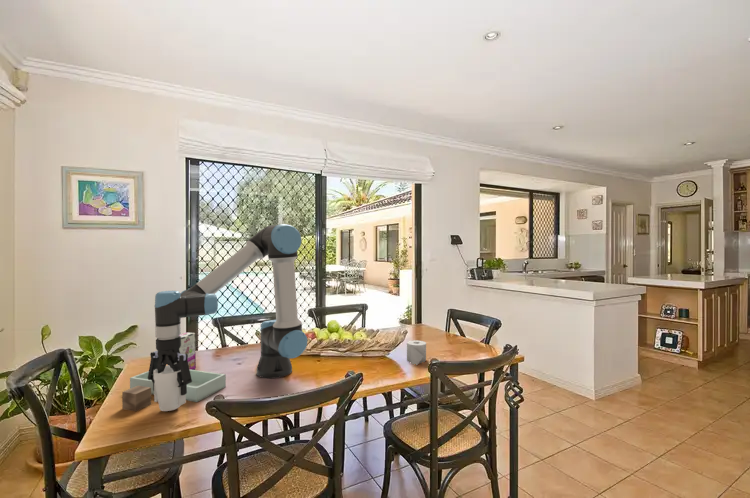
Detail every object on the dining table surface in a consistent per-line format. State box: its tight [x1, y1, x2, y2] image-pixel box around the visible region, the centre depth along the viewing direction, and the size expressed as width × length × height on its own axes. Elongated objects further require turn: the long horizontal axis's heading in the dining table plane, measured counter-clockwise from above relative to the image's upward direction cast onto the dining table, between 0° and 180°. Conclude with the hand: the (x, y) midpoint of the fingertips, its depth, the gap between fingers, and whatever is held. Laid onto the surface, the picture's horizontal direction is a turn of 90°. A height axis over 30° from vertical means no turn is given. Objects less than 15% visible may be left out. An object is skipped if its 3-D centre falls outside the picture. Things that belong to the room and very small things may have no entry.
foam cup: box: [153, 364, 183, 412], centre depth 128 cm, size 10×9×13 cm
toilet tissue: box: [406, 339, 427, 366], centre depth 182 cm, size 9×13×9 cm
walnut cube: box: [121, 386, 152, 412], centre depth 131 cm, size 6×6×6 cm
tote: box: [129, 369, 227, 403], centre depth 147 cm, size 32×15×5 cm, turn 72°
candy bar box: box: [175, 332, 197, 370], centre depth 165 cm, size 11×5×16 cm, turn 168°
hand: (170, 402), depth 128 cm, fingers closed on foam cup, 9 cm apart
